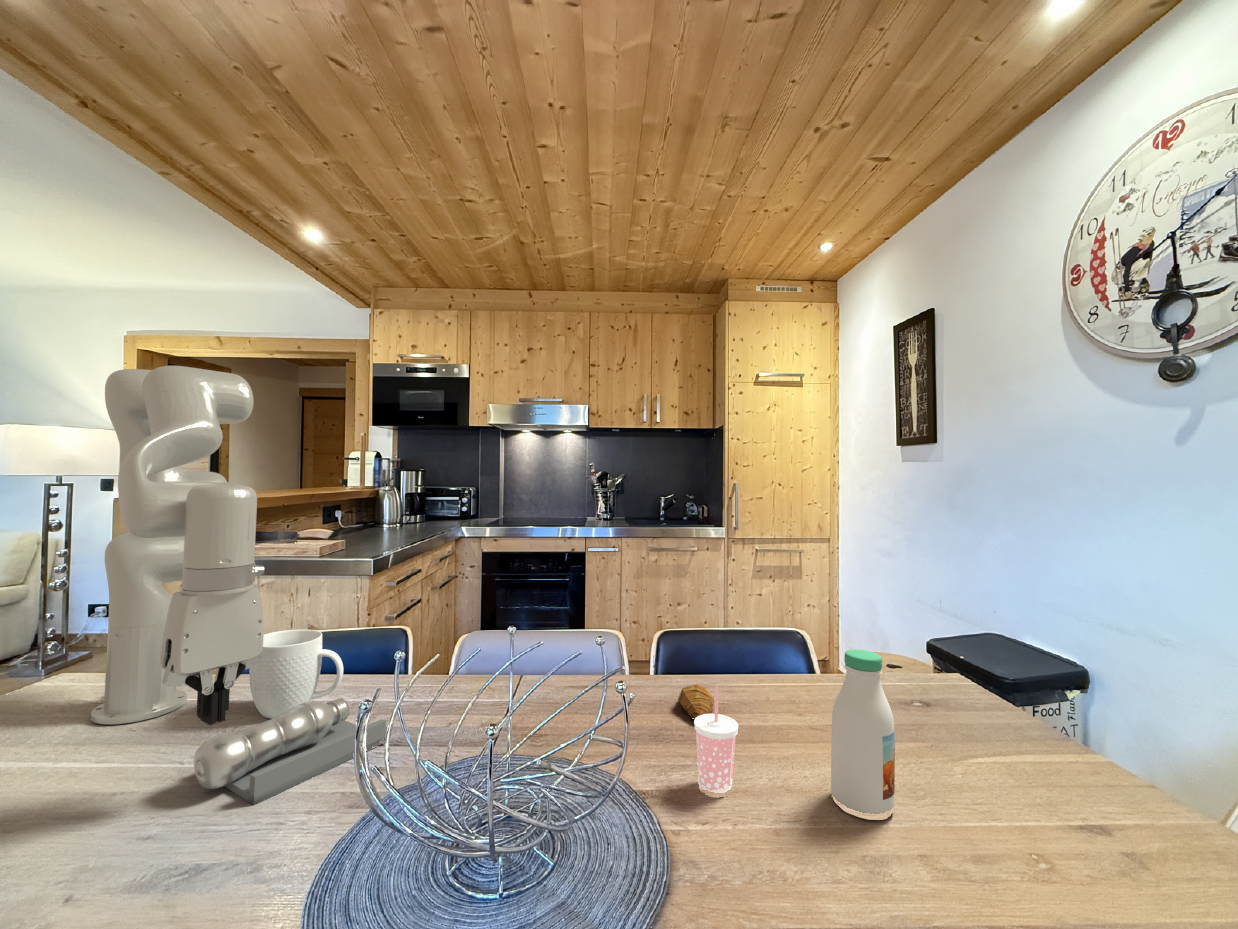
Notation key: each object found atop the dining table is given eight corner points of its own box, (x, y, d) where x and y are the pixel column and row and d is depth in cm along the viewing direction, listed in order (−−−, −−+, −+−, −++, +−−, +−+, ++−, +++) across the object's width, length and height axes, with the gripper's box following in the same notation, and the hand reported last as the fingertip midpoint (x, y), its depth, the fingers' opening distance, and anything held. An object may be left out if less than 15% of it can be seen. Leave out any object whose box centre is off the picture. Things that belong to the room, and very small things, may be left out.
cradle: (207, 776, 74) (209, 750, 74) (338, 723, 90) (339, 703, 90) (253, 805, 68) (255, 777, 68) (385, 743, 84) (386, 721, 84)
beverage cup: (710, 771, 78) (711, 675, 79) (746, 789, 74) (747, 687, 74) (683, 787, 74) (685, 685, 74) (720, 807, 69) (722, 699, 70)
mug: (349, 695, 102) (352, 627, 103) (332, 721, 91) (335, 644, 92) (263, 700, 99) (266, 630, 99) (234, 727, 88) (237, 648, 89)
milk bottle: (867, 830, 66) (869, 666, 66) (818, 796, 72) (819, 648, 73) (907, 813, 69) (908, 658, 70) (856, 783, 76) (857, 642, 77)
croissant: (672, 696, 106) (673, 671, 106) (706, 696, 106) (707, 671, 106) (683, 728, 92) (683, 699, 92) (722, 728, 92) (722, 699, 92)
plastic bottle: (212, 749, 67) (355, 692, 85) (185, 739, 70) (328, 686, 88) (212, 801, 67) (356, 733, 85) (186, 789, 70) (329, 725, 88)
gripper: (265, 568, 78) (259, 695, 77) (134, 584, 65) (126, 736, 65) (293, 574, 74) (288, 707, 74) (159, 592, 61) (151, 753, 61)
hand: (212, 720), depth 69 cm, fingers closed
